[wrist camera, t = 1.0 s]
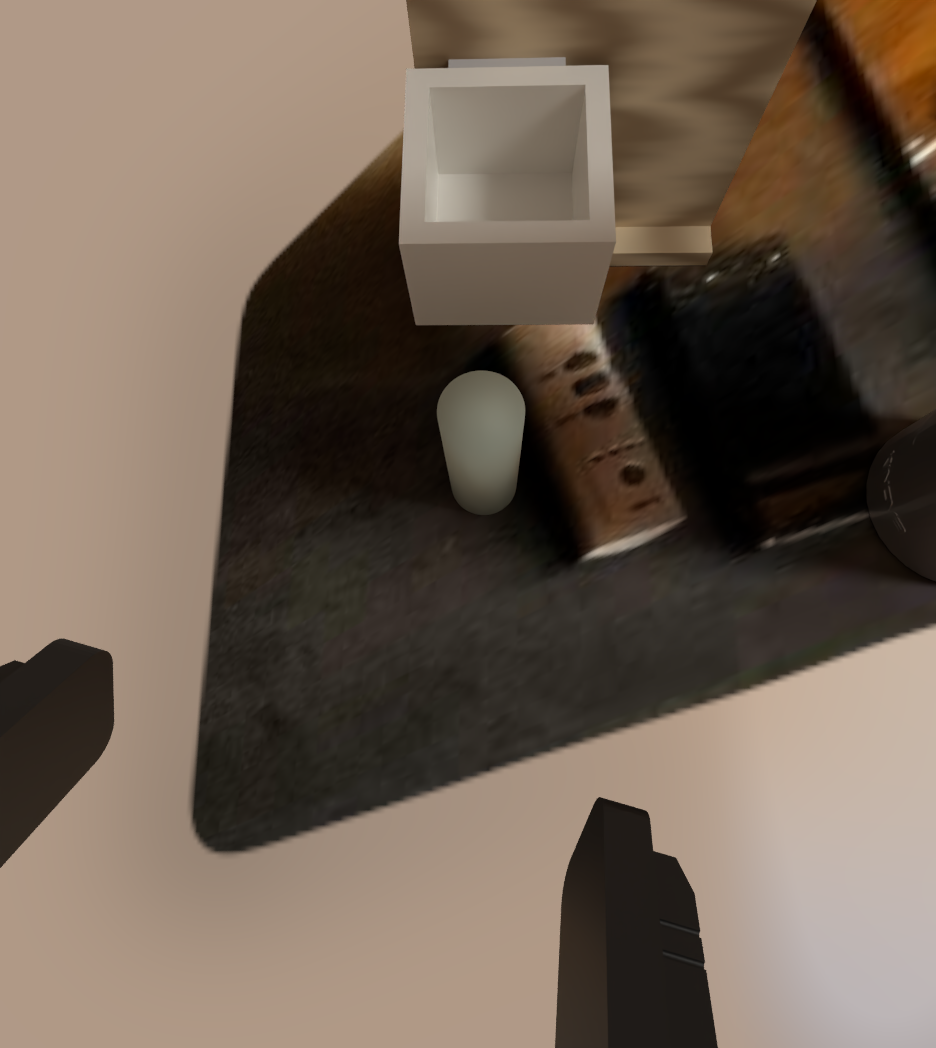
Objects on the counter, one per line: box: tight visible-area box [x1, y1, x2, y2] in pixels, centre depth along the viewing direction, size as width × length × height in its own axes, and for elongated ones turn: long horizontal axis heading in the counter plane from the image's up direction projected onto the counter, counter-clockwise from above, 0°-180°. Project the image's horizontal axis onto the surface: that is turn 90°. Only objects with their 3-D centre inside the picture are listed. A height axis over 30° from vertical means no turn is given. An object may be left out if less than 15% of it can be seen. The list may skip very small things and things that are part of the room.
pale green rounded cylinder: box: [437, 371, 525, 515], centre depth 32 cm, size 4×4×10 cm
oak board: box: [406, 0, 816, 266], centre depth 32 cm, size 16×4×18 cm, turn 89°
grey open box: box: [399, 57, 616, 325], centre depth 31 cm, size 9×9×6 cm
